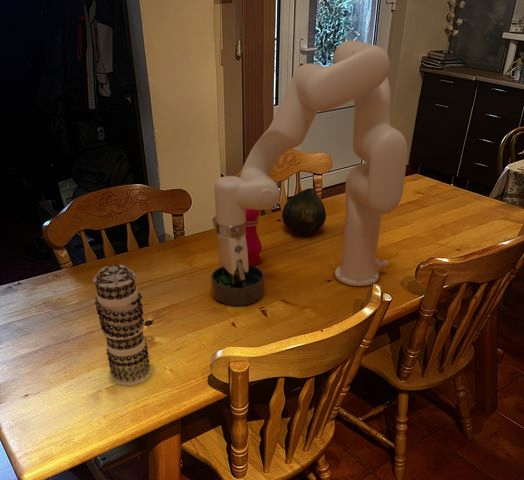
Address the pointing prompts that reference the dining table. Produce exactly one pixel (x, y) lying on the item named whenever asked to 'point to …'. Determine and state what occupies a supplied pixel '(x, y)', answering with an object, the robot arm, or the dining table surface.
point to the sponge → (229, 280)
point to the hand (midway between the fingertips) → (233, 291)
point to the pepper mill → (252, 237)
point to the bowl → (242, 294)
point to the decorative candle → (122, 324)
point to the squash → (304, 213)
